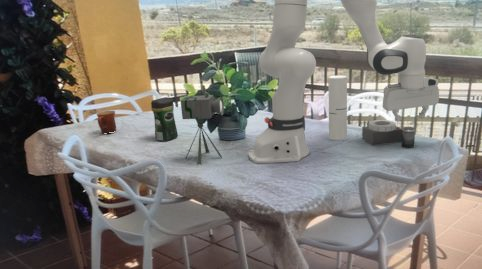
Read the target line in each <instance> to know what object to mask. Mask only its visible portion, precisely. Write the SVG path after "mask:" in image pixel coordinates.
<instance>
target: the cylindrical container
mask: <svg viewBox="0 0 482 269" xmlns="http://www.w3.org/2000/svg"><path fill="white" fill-rule="evenodd" d="M327 78H328V138H329V139H330V140H332V141H333V140H334V141H344V140H346V139H347V138H348V132H347V131H348V76H347V75H338V74H337V75H331V76H328V77H327Z"/></svg>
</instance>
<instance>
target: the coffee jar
mask: <svg viewBox="0 0 482 269" xmlns="http://www.w3.org/2000/svg"><path fill="white" fill-rule="evenodd" d="M150 107H151V112H152V113H153V118H154V134H155V140H157V141H158V142H167V141H171V140H173V139H176V138H177V137H178V136H179V135H178V130H177V124H176V121H175V116H174V115H175V114H174V109H175V108H174V107H175V105H174V101H173V98H172V97H160V98H156V99H152V100H151V102H150Z"/></svg>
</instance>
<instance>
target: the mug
mask: <svg viewBox="0 0 482 269" xmlns="http://www.w3.org/2000/svg"><path fill="white" fill-rule="evenodd" d="M115 115H116V111H115V110H103V111H99V112H97V113H96V116H97V123H98V126H99V129H100V132H101V133H102V134H103V133H109V132H114V131H116V132H117V124H116V118H115V117H116V116H115Z"/></svg>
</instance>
